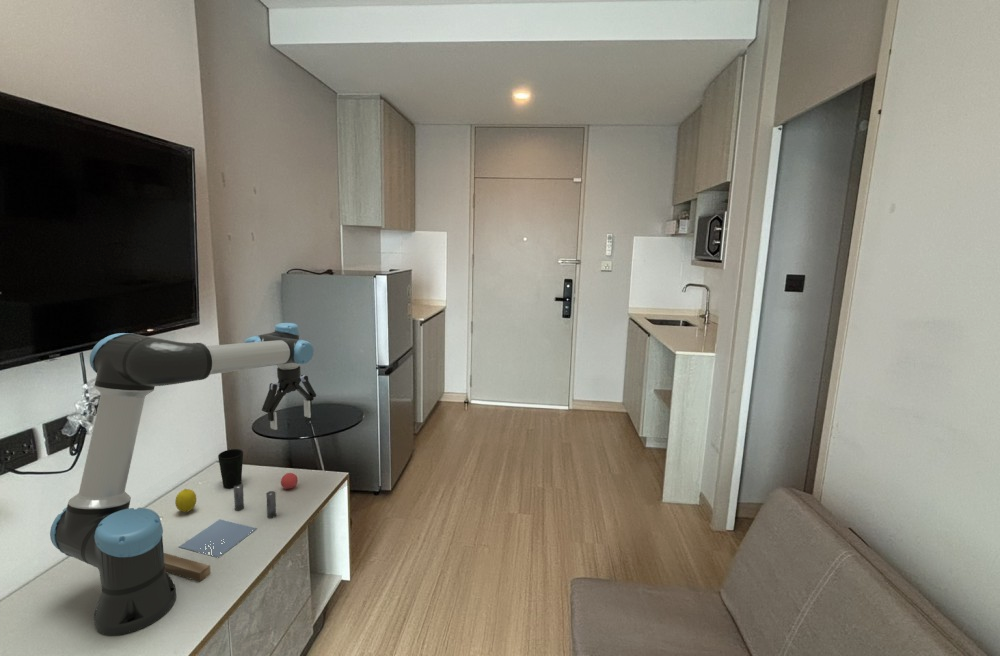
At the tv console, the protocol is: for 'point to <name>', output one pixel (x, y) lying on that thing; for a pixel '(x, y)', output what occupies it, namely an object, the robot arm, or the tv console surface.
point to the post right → (271, 504)
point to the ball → (289, 480)
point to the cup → (231, 467)
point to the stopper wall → (186, 567)
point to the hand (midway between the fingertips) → (291, 422)
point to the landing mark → (218, 538)
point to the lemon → (185, 500)
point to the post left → (238, 497)
